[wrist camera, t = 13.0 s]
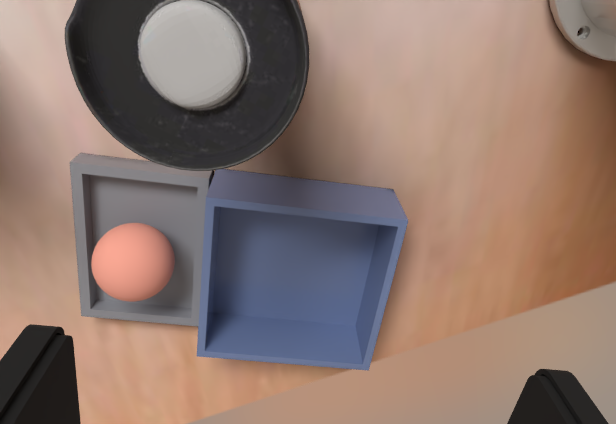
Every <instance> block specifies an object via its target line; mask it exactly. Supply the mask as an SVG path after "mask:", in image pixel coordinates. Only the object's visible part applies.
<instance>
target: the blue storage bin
mask: <svg viewBox="0 0 616 424" xmlns="http://www.w3.org/2000/svg"><path fill="white" fill-rule="evenodd" d="M407 224H408V219H407V217H406V215H405V212H404V210H403V208H402V206H401V204H400V202H399V200H398V198H397V196H396V194H395V192H394V190H393V189H386V188H377V187H369V186H361V185H352V184H344V183H336V182H327V181H319V180H311V179H303V178H294V177H286V176H278V175H269V174H261V173H253V172H244V171H236V170H228V169H218V170H216V171H215V174H214V177H213V179H212V182H211V185H210V187H209V190H208V193H207V195H206V204H205V221H204V239H203V256H202V274H201V291H200V309H199V326H198V344H197V356H200V357H212V358H224V359H236V360H248V361H260V362H273V363H285V364H297V365H309V366H321V367H333V368H346V369H358V370H369V367H370V363H371V360H372V356H373V352H374V348H375V344H376V341H377V337H378V333H379V329H380V326H381V322H382V318H383V314H384V310H385V307H386V303H387V299H388V295H389V292H390V288H391V284H392V280H393V276H394V273H395V269H396V265H397V261H398V258H399V254H400V250H401V246H402V242H403V239H404V235H405V231H406V227H407Z"/></svg>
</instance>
